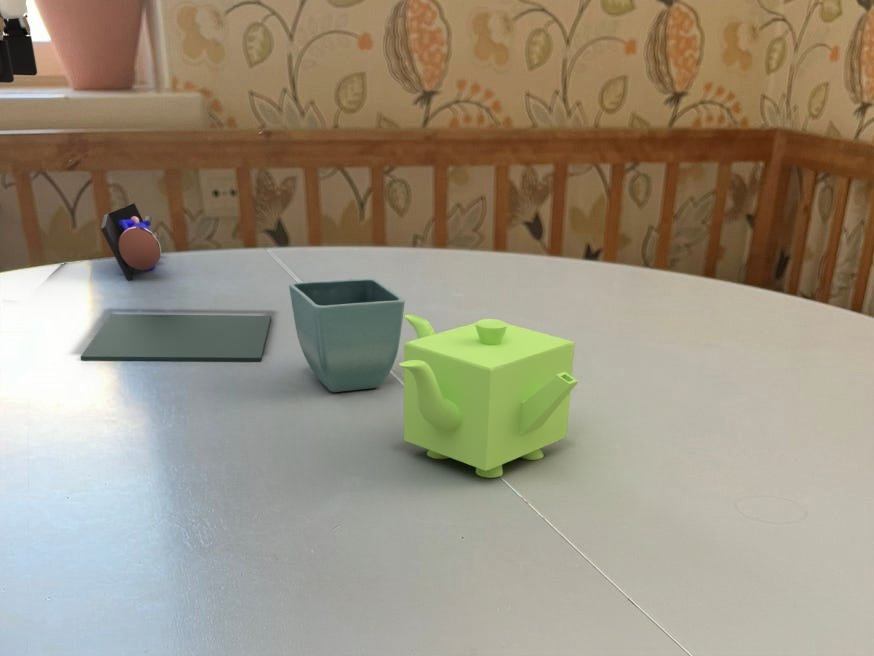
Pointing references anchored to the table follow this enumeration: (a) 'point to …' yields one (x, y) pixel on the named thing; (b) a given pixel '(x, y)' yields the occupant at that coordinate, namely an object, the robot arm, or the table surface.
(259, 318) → the placemat
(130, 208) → the character figurine
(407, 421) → the kettle
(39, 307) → the table surface
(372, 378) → the flower pot
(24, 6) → the robot arm
